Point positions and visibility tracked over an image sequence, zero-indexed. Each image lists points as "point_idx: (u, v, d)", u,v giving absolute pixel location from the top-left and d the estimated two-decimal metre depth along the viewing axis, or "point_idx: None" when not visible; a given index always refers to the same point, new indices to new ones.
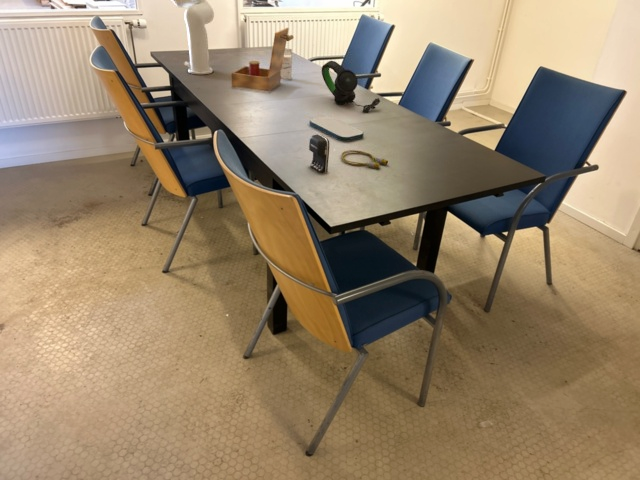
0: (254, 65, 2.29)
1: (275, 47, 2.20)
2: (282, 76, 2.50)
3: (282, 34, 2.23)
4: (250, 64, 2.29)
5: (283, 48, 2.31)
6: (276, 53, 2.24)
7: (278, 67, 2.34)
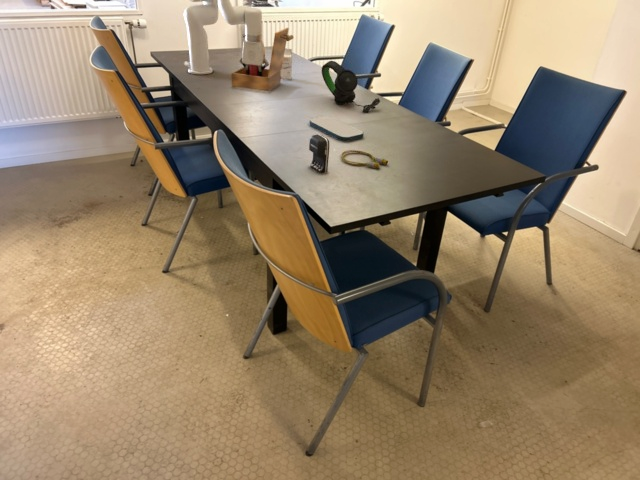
0: (254, 65, 2.29)
1: (275, 47, 2.20)
2: (282, 76, 2.50)
3: (282, 34, 2.23)
4: None
5: (283, 48, 2.31)
6: (276, 53, 2.24)
7: (278, 67, 2.34)
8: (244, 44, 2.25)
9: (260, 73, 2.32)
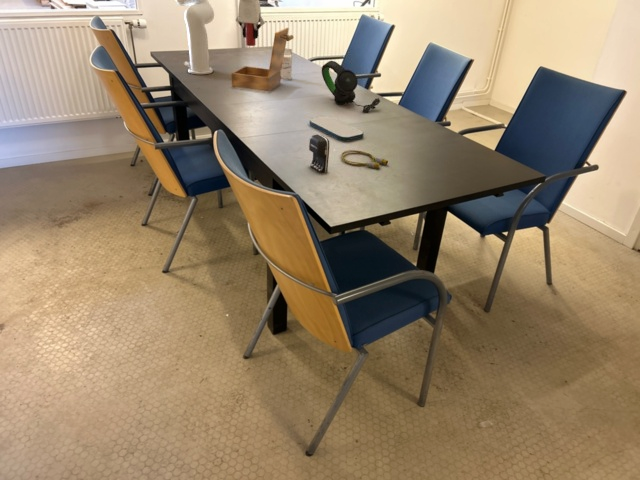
0: (250, 23, 2.34)
1: (275, 47, 2.20)
2: (282, 76, 2.50)
3: (282, 34, 2.23)
4: None
5: (283, 48, 2.31)
6: (276, 53, 2.24)
7: (278, 67, 2.34)
8: (240, 2, 2.30)
9: (256, 32, 2.37)
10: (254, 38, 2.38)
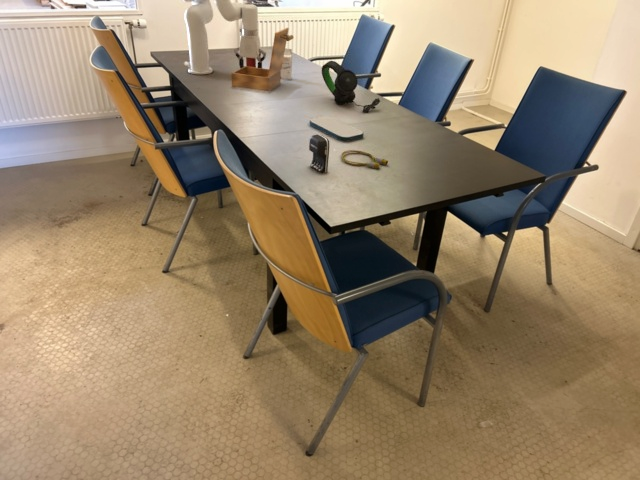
0: (251, 58, 2.44)
1: (275, 47, 2.20)
2: (282, 76, 2.50)
3: (282, 34, 2.23)
4: None
5: (283, 48, 2.31)
6: (276, 53, 2.24)
7: (278, 67, 2.34)
8: (241, 38, 2.40)
9: (260, 64, 2.46)
10: None
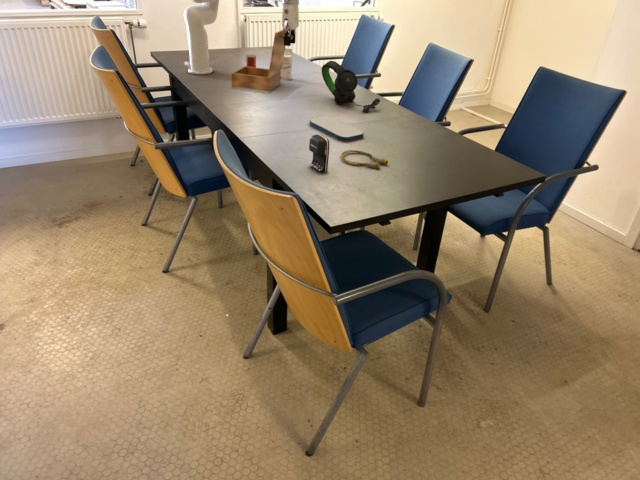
0: (251, 58, 2.44)
1: (275, 47, 2.20)
2: (282, 76, 2.50)
3: (282, 34, 2.23)
4: (247, 57, 2.44)
5: (283, 48, 2.31)
6: (276, 53, 2.24)
7: (278, 67, 2.34)
8: (292, 8, 2.12)
9: None
10: (294, 43, 2.26)
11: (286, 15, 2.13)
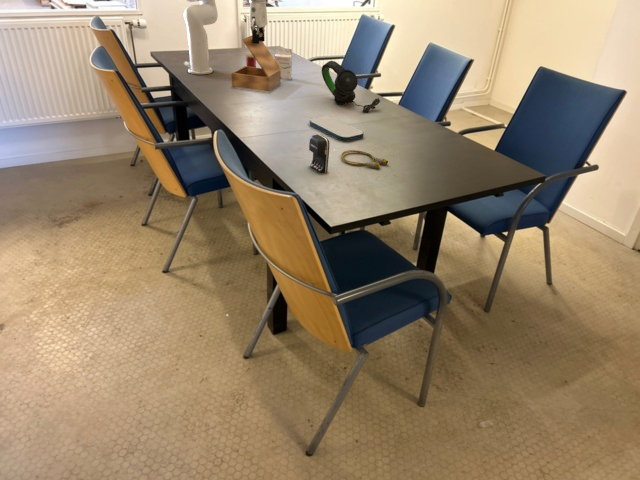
0: (251, 58, 2.44)
1: (253, 50, 2.24)
2: (282, 76, 2.50)
3: None
4: (247, 57, 2.44)
5: (266, 50, 2.34)
6: (259, 55, 2.27)
7: (275, 67, 2.35)
8: (259, 6, 2.16)
9: None
10: (264, 40, 2.30)
11: (253, 13, 2.17)
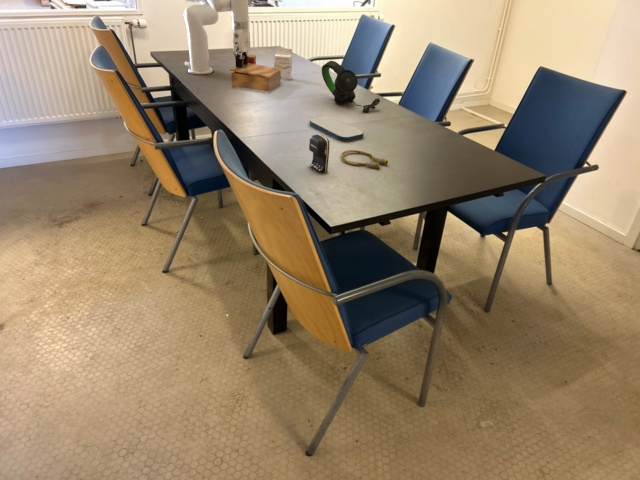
0: (251, 58, 2.44)
1: (243, 70, 2.30)
2: (282, 76, 2.50)
3: None
4: None
5: (258, 66, 2.39)
6: (251, 70, 2.32)
7: (273, 70, 2.36)
8: (242, 33, 2.24)
9: None
10: (247, 64, 2.38)
11: (236, 39, 2.25)
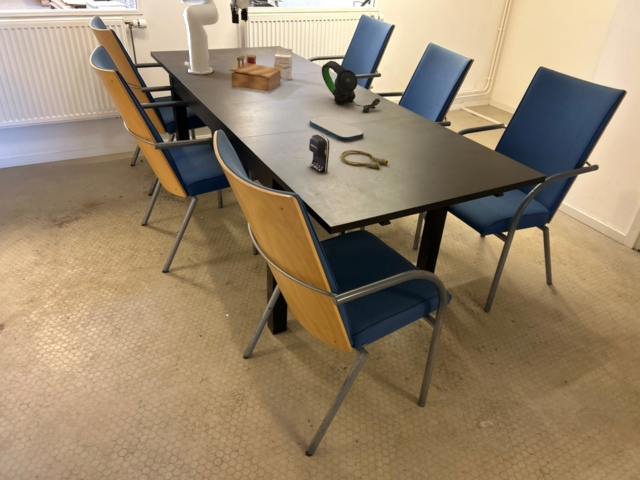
0: (251, 58, 2.44)
1: (243, 70, 2.30)
2: (282, 76, 2.50)
3: (240, 65, 2.36)
4: (247, 57, 2.44)
5: (258, 66, 2.39)
6: (251, 70, 2.32)
7: (273, 70, 2.36)
8: None
9: None
10: (247, 20, 2.29)
11: None
